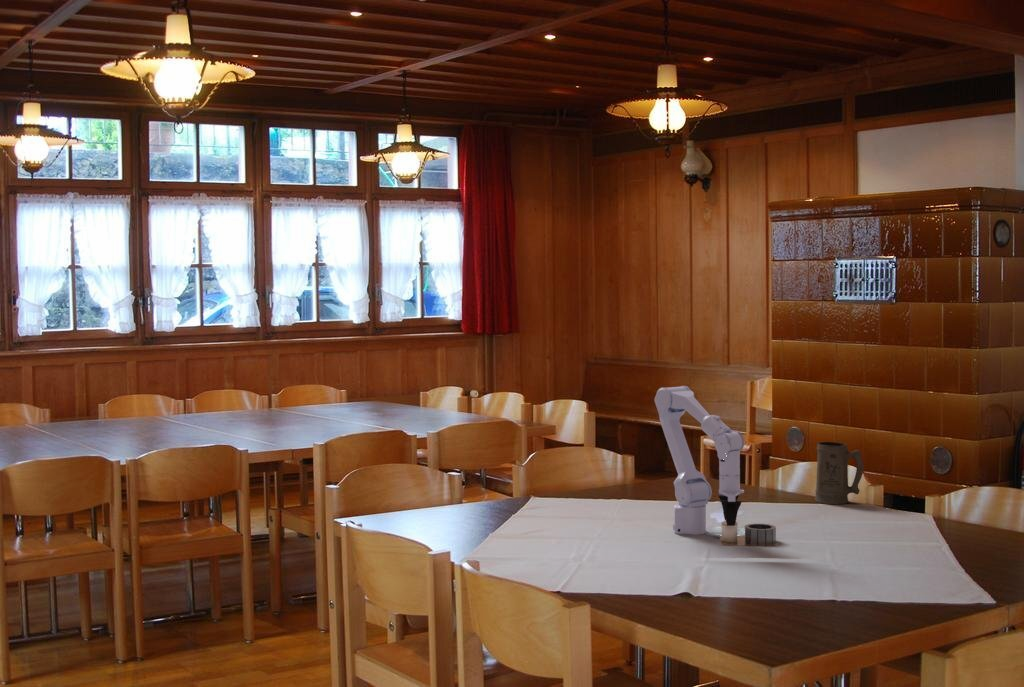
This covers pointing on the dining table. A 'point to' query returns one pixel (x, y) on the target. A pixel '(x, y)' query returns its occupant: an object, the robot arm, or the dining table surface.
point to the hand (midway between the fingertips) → (729, 522)
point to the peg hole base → (755, 536)
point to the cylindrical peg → (729, 532)
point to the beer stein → (835, 473)
